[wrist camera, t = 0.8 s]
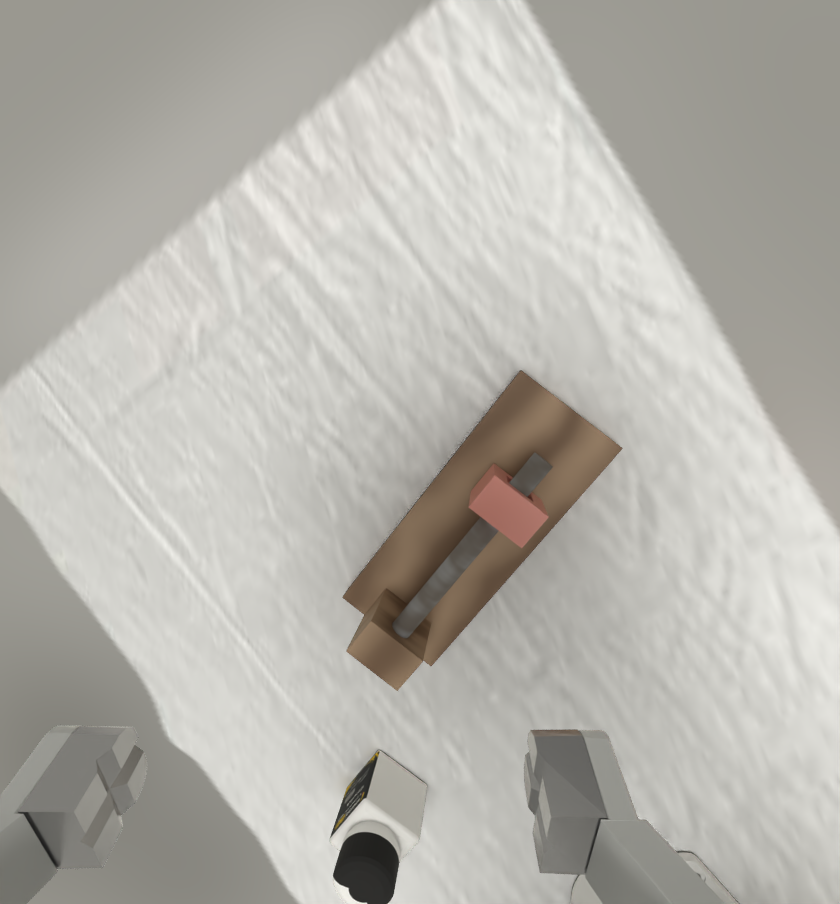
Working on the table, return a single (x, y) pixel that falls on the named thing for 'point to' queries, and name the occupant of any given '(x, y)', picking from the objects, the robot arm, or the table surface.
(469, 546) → the rod stand
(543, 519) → the square nut
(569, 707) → the table surface
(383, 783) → the medicine bottle
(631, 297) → the table surface
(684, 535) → the table surface
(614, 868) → the robot arm
